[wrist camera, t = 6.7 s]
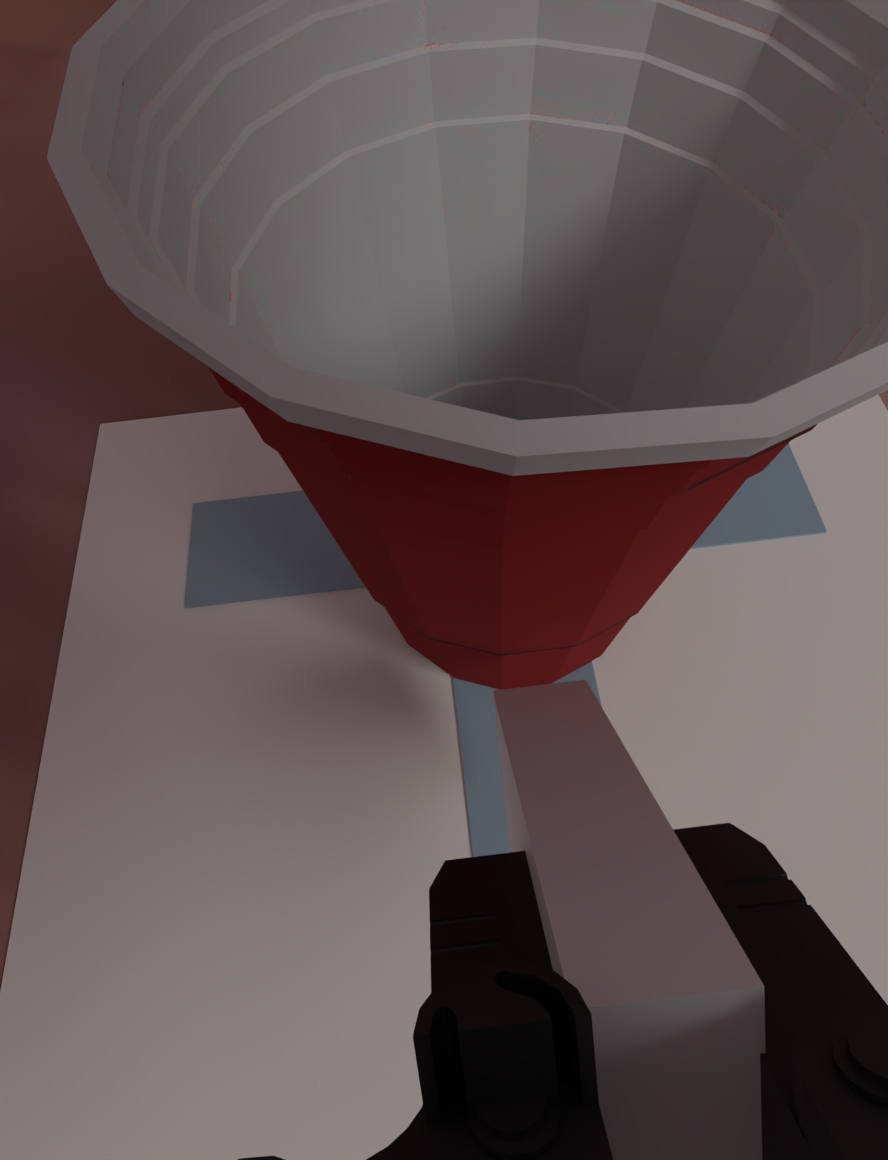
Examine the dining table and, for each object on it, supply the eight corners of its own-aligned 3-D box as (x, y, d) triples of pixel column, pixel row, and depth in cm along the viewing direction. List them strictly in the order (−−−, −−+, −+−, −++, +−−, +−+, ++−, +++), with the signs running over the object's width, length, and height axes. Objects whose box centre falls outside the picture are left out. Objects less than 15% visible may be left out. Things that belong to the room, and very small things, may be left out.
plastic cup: (651, 910, 15) (1008, 627, 4) (206, 679, 18) (-188, 197, 8) (801, 500, 19) (1144, -101, 9) (427, 373, 22) (369, -185, 12)
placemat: (845, 338, 22) (848, 334, 22) (1405, 1380, 11) (1418, 1385, 11) (101, 426, 22) (98, 421, 22) (-96, 1556, 11) (-104, 1564, 11)
